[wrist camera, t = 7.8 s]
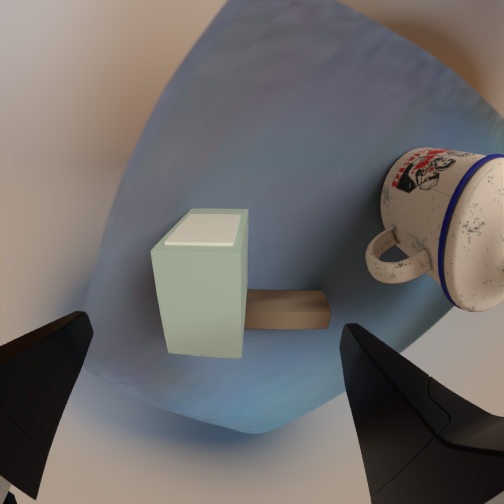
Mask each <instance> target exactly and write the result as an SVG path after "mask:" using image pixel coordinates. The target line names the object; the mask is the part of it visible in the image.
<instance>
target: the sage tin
mask: <svg viewBox="0 0 504 504" xmlns="http://www.w3.org/2000/svg"><path fill="white" fill-rule="evenodd" d="M151 257H152V265H153V272H154V279H155V285H156V291H157V297H158V303H159V309H160V314H161V320H162V325H163V330H164V335H165V339H166V344H167V349H168V353H173V354H183V355H194V356H206V357H221V358H241V357H242V345H243V333H244V321H245V310H246V298H247V282H248V209H191V210H190V211H189V212H188V213H187V214H186V215H185V216H184V217H183V218H182V219H181V220H180V221H179V222H178V223H177V224H176V225H175V226H174V227H173V228H172V229H171V230H170V231H169V232H168V233H167V234H166V235H165V236H164V237H163V238H162V239H161V240H160V241H159V242H158V243H157V244H156V246H155V247H154V248H153V249H152V250H151Z"/></svg>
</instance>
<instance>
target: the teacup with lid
mask: <svg viewBox="0 0 504 504" xmlns="http://www.w3.org/2000/svg"><path fill="white" fill-rule="evenodd" d="M381 216H382V221H383V225H384V228H385V231H383V232H382V233H380V234H379V235H377V236H376V237H375V238H374V239H373V240H372V241H371V242H370V244H369V245H368V247H367V250H366V256H365V258H366V263H367V266H368V270H369V272H370V273H371V275H372V276H373V277H374V278H375V279H376V280H378V281H380V282H383V283H391V284H394V283H403V282H407V281H410V280H412V279H415V278H417V277H419V276H421V275H422V274H424V273H427V274H428V275H430V276H431V277H432V278H433V279H434V280H435V281H436V282H437V283H438V284H439V285H440V286H441V287H442V289H443V291H444V293H445V295H446V297H447V298H448V300H449V301H450V302H451V303H452V304H453V305H455V306H456V307H458V308H460V309H463V310H466V311H469V312H481V311H485V310H488V309H491V308H493V307H495V306H497V305H498V304H500V303H501V302H502V301H503V300H504V155H501V154H492V155H488V156H484V155H478V154H473V153H466V152H460V151H453V150H445V149H437V148H418V149H414V150H411V151H409V152H407V153H406V154H404V155H403V156H402V157H400V158H399V159H398V160H397V161H396V163H395V164H394V165H393V166H392V168H391V169H390V171H389V173H388V175H387V177H386V179H385V182H384V185H383V189H382V194H381ZM395 245H396V246H397V247H398V248H399V249H401V250H402V251H403V252H404V253H405V254H406V255H407V256H409V258H407V259H404V260H401V261H396V262H383V261H380V260H379V259H380V257H381V256H382V255H383V253H384V252H386V251H387V250H388V249H390V248H391V247H393V246H395Z"/></svg>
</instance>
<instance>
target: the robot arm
mask: <svg viewBox="0 0 504 504" xmlns="http://www.w3.org/2000/svg"><path fill="white" fill-rule="evenodd" d="M92 337H93V328H92V326H91V323H90V320H89V317H88V314H87V313H86V312H83V311H75V312H73V313H71V314H69V315H66V316H64V317H62V318H60V319H57V320H55V321H53V322H51V323H49V324H47V325H44V326H42V327H40V328H38V329H36V330H34V331H31V332H29V333H27V334H25V335H23V336H21V337H19V338H16V339H14V340H12V341H10V342H8V343H6V344H4V345H2V346H0V504H17V502H16V499H15V496H14V495H13V494H12V493H11V492H10V491H9V489H10V487H11V485H14V486H15V487H17V488H18V489H19V490H21V491H22V492H24V493H25V494H27V495H28V496H30V497H31V498H33V499H34V500H36V498H37V495H38V491H39V487H40V483H41V479H42V475H43V472H44V468H45V465H46V461H47V458H48V454H49V451H50V448H51V445H52V442H53V439H54V436H55V433H56V430H57V427H58V425H59V422H60V419H61V417H62V414H63V411H64V409H65V406H66V404H67V401H68V399H69V396H70V394H71V392H72V389H73V387H74V384H75V382H76V380H77V378H78V375H79V373H80V371H81V368H82V365H83V363H84V360H85V357H86V354H87V351H88V348H89V345H90V343H91V340H92ZM340 355H341V361H342V368H343V375H344V382H345V388H346V392H347V396H348V400H349V404H350V408H351V412H352V416H353V420H354V424H355V428H356V432H357V436H358V440H359V445H360V449H361V453H362V458H363V463H364V467H365V472H366V477H367V482H368V486H369V492H370V497H371V504H504V417H500V416H495V415H492V414H490V413H488V412H486V411H485V410H483V409H481V408H479V407H478V406H476V405H474V404H472V403H471V402H469V401H467V400H466V399H464V398H462V397H461V396H459V395H457V394H456V393H454V392H452V391H451V390H449V389H448V388H446V387H445V386H443V385H442V384H440V383H439V382H438V381H436V380H435V379H434V378H432V377H431V376H430V377H429V375H428V374H427V373H425V372H424V371H422V370H421V369H420V368H418V367H417V366H416V365H414V364H413V363H411V362H410V361H409V360H407V359H406V358H404V357H403V356H402V355H400V354H399V353H398V352H396V351H395V350H393V349H392V348H391V347H389V346H388V345H387V344H385V343H384V342H382V341H381V340H380V339H378V338H377V337H375V336H374V335H373V334H371V333H370V332H369V331H367V330H366V329H364V328H363V327H362V326H360V325H359V324H357V323H350V324H345V326H344V328H343V332H342V337H341V341H340Z"/></svg>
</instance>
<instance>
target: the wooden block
mask: <svg viewBox="0 0 504 504" xmlns="http://www.w3.org/2000/svg"><path fill="white" fill-rule="evenodd" d="M331 312H332V311H331V309H330V306H329V304H328V301H327V298H326V296H325V293H324V291H323V290H248V289H247V298H246V310H245V321H244V329H328V327H329V323H330V317H331Z"/></svg>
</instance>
